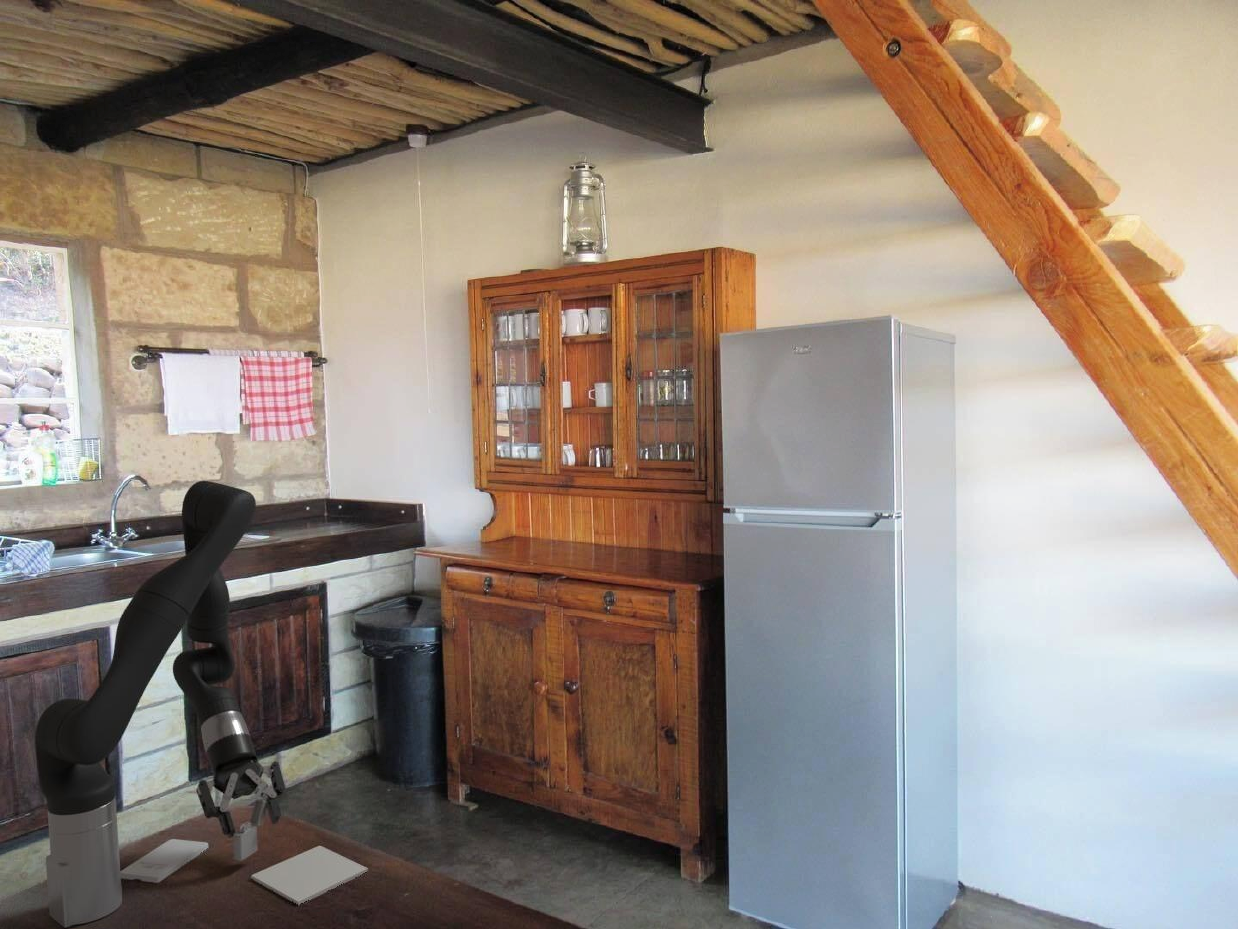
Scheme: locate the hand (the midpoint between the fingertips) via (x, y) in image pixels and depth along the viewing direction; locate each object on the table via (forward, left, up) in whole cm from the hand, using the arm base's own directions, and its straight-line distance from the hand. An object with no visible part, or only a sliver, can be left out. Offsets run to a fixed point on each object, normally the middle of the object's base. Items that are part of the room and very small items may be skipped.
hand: (254, 828), depth 159 cm
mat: (+3, -11, -7) cm, 13 cm away
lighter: (0, +2, -5) cm, 5 cm away
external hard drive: (-9, +14, -7) cm, 18 cm away
